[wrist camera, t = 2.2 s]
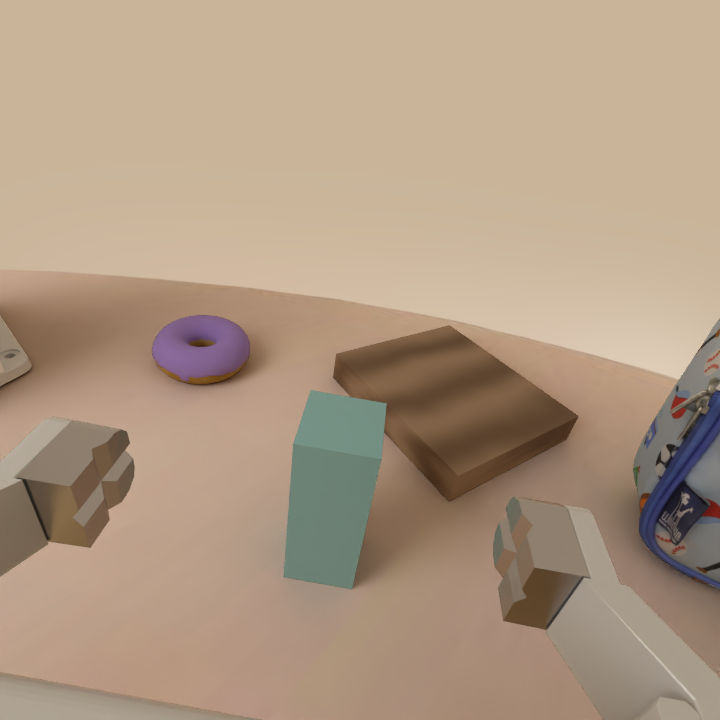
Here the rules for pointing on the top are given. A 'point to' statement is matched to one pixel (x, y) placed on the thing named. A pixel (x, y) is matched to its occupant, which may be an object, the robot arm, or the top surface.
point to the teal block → (332, 487)
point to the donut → (201, 349)
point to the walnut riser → (454, 406)
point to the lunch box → (685, 471)
